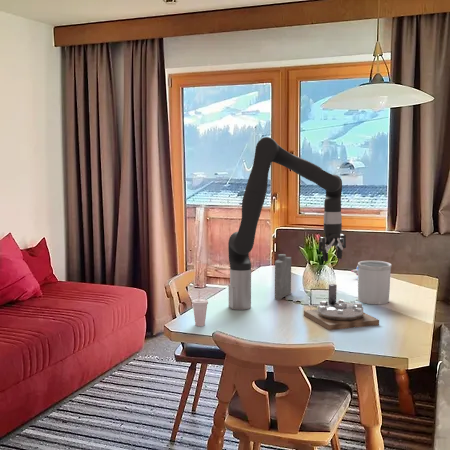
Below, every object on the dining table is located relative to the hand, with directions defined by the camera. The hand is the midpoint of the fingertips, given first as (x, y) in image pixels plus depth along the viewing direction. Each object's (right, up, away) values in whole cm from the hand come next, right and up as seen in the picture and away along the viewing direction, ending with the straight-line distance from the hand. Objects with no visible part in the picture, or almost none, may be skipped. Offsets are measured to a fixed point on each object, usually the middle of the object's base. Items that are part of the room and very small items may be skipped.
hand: (332, 259), depth 246 cm
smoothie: (-56, -25, -18) cm, 64 cm away
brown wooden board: (+1, -24, -12) cm, 26 cm away
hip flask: (-19, -19, +29) cm, 39 cm away
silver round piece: (+1, -21, -12) cm, 24 cm away
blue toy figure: (+28, -14, +68) cm, 75 cm away
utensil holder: (+22, -20, +19) cm, 36 cm away
